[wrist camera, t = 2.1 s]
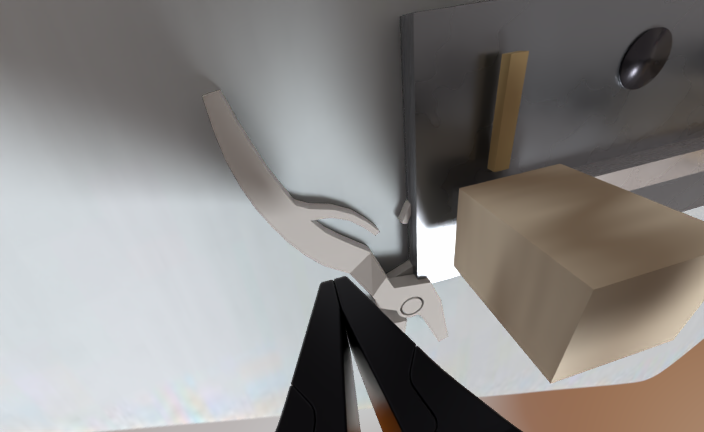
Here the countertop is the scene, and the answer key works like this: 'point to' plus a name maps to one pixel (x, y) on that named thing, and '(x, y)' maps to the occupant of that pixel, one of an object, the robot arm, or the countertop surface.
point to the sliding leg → (573, 255)
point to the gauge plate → (551, 103)
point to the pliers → (323, 228)
